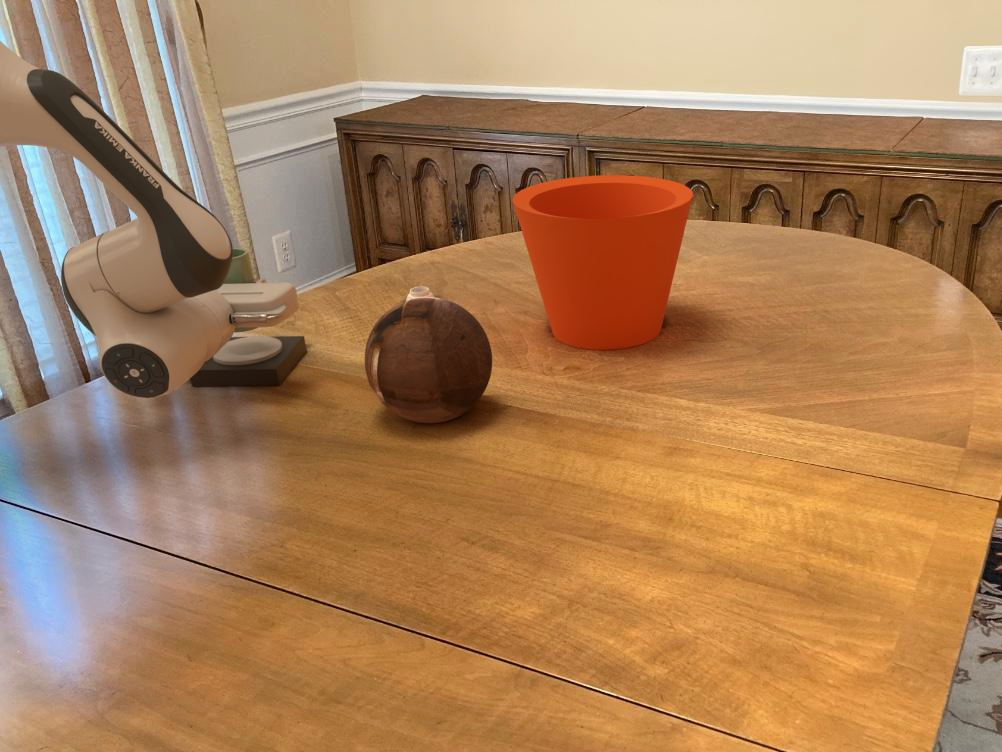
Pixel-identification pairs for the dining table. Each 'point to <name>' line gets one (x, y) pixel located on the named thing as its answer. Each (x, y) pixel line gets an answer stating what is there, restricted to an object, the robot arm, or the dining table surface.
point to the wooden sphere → (428, 360)
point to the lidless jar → (419, 293)
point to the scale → (252, 362)
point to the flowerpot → (604, 254)
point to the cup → (240, 273)
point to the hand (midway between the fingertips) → (236, 284)
